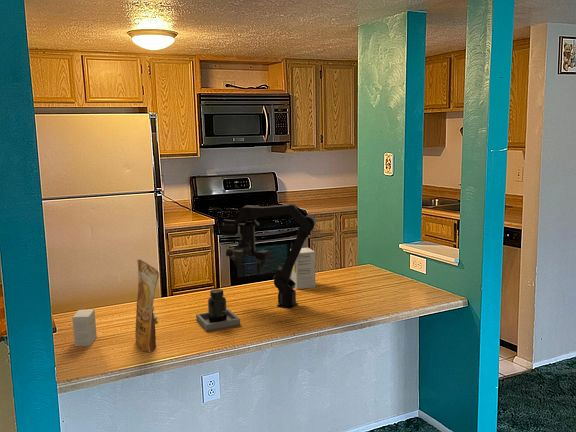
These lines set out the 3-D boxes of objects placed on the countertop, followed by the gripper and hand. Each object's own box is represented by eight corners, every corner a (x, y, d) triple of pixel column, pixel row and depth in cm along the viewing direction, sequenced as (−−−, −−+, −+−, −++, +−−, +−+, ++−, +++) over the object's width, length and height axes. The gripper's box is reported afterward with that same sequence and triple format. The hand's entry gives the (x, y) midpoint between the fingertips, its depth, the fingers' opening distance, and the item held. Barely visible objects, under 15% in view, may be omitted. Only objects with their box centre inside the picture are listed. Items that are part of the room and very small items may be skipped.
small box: (81, 337, 194) (78, 309, 192) (97, 337, 194) (94, 308, 192) (74, 346, 186) (71, 317, 184) (91, 345, 186) (88, 316, 185)
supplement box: (290, 284, 255) (289, 248, 252) (309, 282, 258) (308, 247, 255) (296, 289, 246) (296, 253, 243) (316, 287, 249) (315, 251, 246)
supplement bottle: (228, 323, 203) (226, 292, 201) (209, 325, 202) (208, 294, 200) (225, 317, 210) (224, 287, 208) (207, 319, 208) (206, 288, 206)
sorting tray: (228, 315, 214) (228, 308, 214) (240, 325, 203) (240, 318, 202) (196, 320, 209) (196, 314, 208) (206, 331, 197) (206, 324, 197)
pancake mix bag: (151, 333, 197) (146, 257, 192) (164, 351, 180) (159, 269, 176) (132, 336, 194) (127, 259, 190) (143, 355, 177) (138, 271, 173)
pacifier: (143, 325, 205) (159, 322, 208) (141, 310, 204) (157, 306, 207) (139, 320, 211) (154, 316, 214) (137, 304, 210) (153, 301, 213)
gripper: (217, 238, 220) (218, 276, 222) (256, 242, 211) (258, 281, 213) (232, 233, 229) (234, 269, 232) (271, 236, 221) (272, 274, 223)
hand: (248, 273), depth 225 cm, fingers open, 9 cm apart
